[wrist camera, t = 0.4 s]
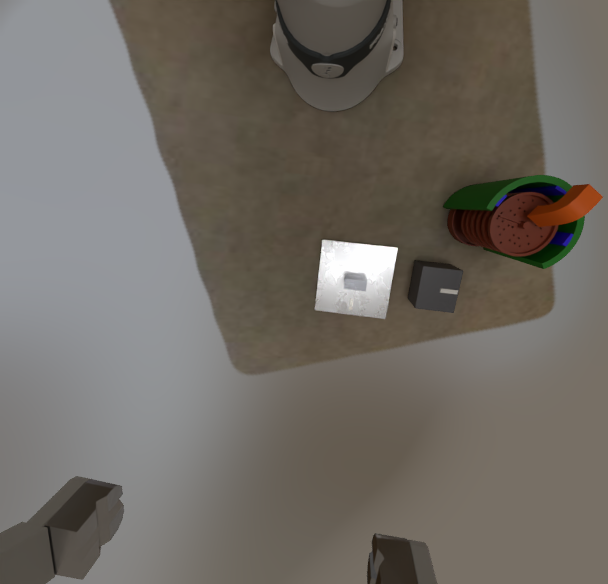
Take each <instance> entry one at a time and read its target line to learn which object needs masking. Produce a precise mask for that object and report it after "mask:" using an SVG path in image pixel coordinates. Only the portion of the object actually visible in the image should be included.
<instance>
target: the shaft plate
mask: <svg viewBox="0 0 608 584" xmlns="http://www.w3.org/2000/svg"><path fill="white" fill-rule="evenodd" d="M397 249H398V248H397V247H391V246H381V245H372V244H362V243H353V242H344V241H334V240H325V239H323V240H322V248H321V257H320V266H319V276H318V285H317V294H316V303H315V310H319V311H327V312H334V313H342V314H350V315H358V316H366V317H374V318H382V319H386V313H387V307H388V302H389V296H390V290H391V284H392V278H393V272H394V267H395V261H396V255H397Z"/></svg>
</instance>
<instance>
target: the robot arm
mask: <svg viewBox="0 0 608 584" xmlns="http://www.w3.org/2000/svg"><path fill="white" fill-rule="evenodd" d="M274 9H275V12H277V18H276V23H275V24H273V37H272V42H271V46H270V54H271V57H272V59H273V61H274V62H275V63H276V64H277V65H278V66H279V67H280V68H281V69H283V70H284V71H285V72H286V74H287V76H288V77H289V80H290V82H291V84H292V86H293V87H294V89H295V91H296V92H297V93H298V95H299V96H300V97H301V98H302V99H303V100H304V101H305V102H307V103H308V104H310V105H311V106H313V107H315V108H318V109H321V110H325V111H341V110H345V109H348V108H351V107H353V106H355V105H357V104H359V103H360V102H362V101H363V100H364V99H365V98H366V97H368V96H369V94H370V93H371V92H372V91H373V90H374V89H375V87H376V86H377V85H378V83H379V82H380V81H381V80H382V79H383V78H384V77H385V76H387V75H388V74H390V73H392V72H393V71H395V70H396V69H397V68H398V67H399V66H400V65H401V64H402V61H403V55H404V50H403V1H402V0H275V4H274ZM394 46H396V47H397V50H395V51H393V47H394ZM122 494H123V493H122V486H120V485H115V484H110V483H106V482H102V481H97V480H93V479H88V478H83V477H78V476H76V477H74V478H72V479H70V480H69V481H68V482H67V483H66V484H65V485H64V486H63V487H62V488H61V489H60V490H59V491H58V492H57V493H56V494H55V495H54V496H53V497H52V498H51V499H50V500H49V501H48V502H47V503H46V504H45V505H44V506H43V507H42V508H41V509H40V510H39V511H38V512H37V513H36V514H35V515H34V516H33V517H32V518H31V519H30V520H29V521H28V522H27V523H24V522H21V523H19V524H17V525H15V526H13V527H11V528H9V529H7V530H5V531H3V532H1V533H0V584H46V583H47V582H48V581H50V580H51V579H52V578H54V577H55V575H60V576H66V577H71V578H77V579H84V577H85V576H86V574H87V573H88V572H89V570H90V569H91V567H92V566H93V564H94V563H95V562H96V560H97V559H98V557H99V556H100V548H101V546H102V545H104V544H105V543H107V542H108V541H110V540H111V539H112V537H113V536H114V534H115V533H116V531H117V530H118V528H119V525H120V523H121V521H122V518H123V513H124V505H123V504H122V502H121V501H120V500H119V498H120V497H121V496H122ZM367 584H437V581H436V577H435V573H434V569H433V565H432V561H431V558H430V553H429V550H428V546H427V545H426V543H424V542H418V541H413V540H407V539H405V538H399V537H393V536H387V535H382V534H376V533H375V534H374V535H373V539H372V552H371V553H369V559H368V569H367Z"/></svg>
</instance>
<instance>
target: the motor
mask: <svg viewBox="0 0 608 584" xmlns="http://www.w3.org/2000/svg"><path fill="white" fill-rule="evenodd" d="M602 198H603V197H602V196H601V195H600V194H599V193H598V192H597V191H596V190H595V189H594V188H593V187H592V186H590V185H589V184H586V185H574V186H573V187H572V186H571V185H570V184H568V183H567V182H565V181H564V180H561V179H559V178H556V177H552V176H547V175H535V176H528V177H522V178H515V179H509V180H502V181H496V182H489V183H483V184H476V185H470V186H467V187H464V188H462V189H460V190H458V191H457V192H455V193H454V194H453V195H452V196H451V197H450V198H449V199H448V200H447V201H446V203H445V204H444V206H443V207H444V208H446V209H451V210H450V212H449V215H448V229H449V231H450V233H451V235H452V236H453V237H454V238H455V239H456V240H457V241H459V242H461V243H464V244H467V245H470V246H481V247H483V248H484V250H487V251H490V252H493V253H496V254H499V255H502V256H505V257H508V258H511V259H515V260H518V261H521V262H524V263H527V264H530V265H533V266H536V267H539V268H542V269H545V268H547V267H550V266H552V265H553V264H555V263H557V262H558V261H560V260H561V259H562V258H563V257H565V256H566V255H567V254H568V253H569V252H570V250H571V249H572V248H573V247H574V246H575V244H576V242H577V241H578V239H579V237H580V235H581V232H582V229H583V225H584V218H585V215H586V214H587V213H588V212H589V211H590V210H591V209H592V208H593V207H594V206H595V205H596V204H597V203H598V202H599V201H600V200H601V199H602Z"/></svg>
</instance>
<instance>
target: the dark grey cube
mask: <svg viewBox="0 0 608 584" xmlns="http://www.w3.org/2000/svg"><path fill="white" fill-rule="evenodd" d="M462 274H463V270H461V269H459V268H457V267H455V266H453V265H451V264H444V263H435V262H425V261H416V260H415V262H414V267H413V273H412V278H411V283H410V289H409V294H408V299H409V301H410V302H411V303H412V305H413V306H414V307H415V308H418V309H426V310H434V311H443V312H451V313H454V309H455V305H456V300H457V296H458V292H459V287H460V283H461V279H462Z"/></svg>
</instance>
